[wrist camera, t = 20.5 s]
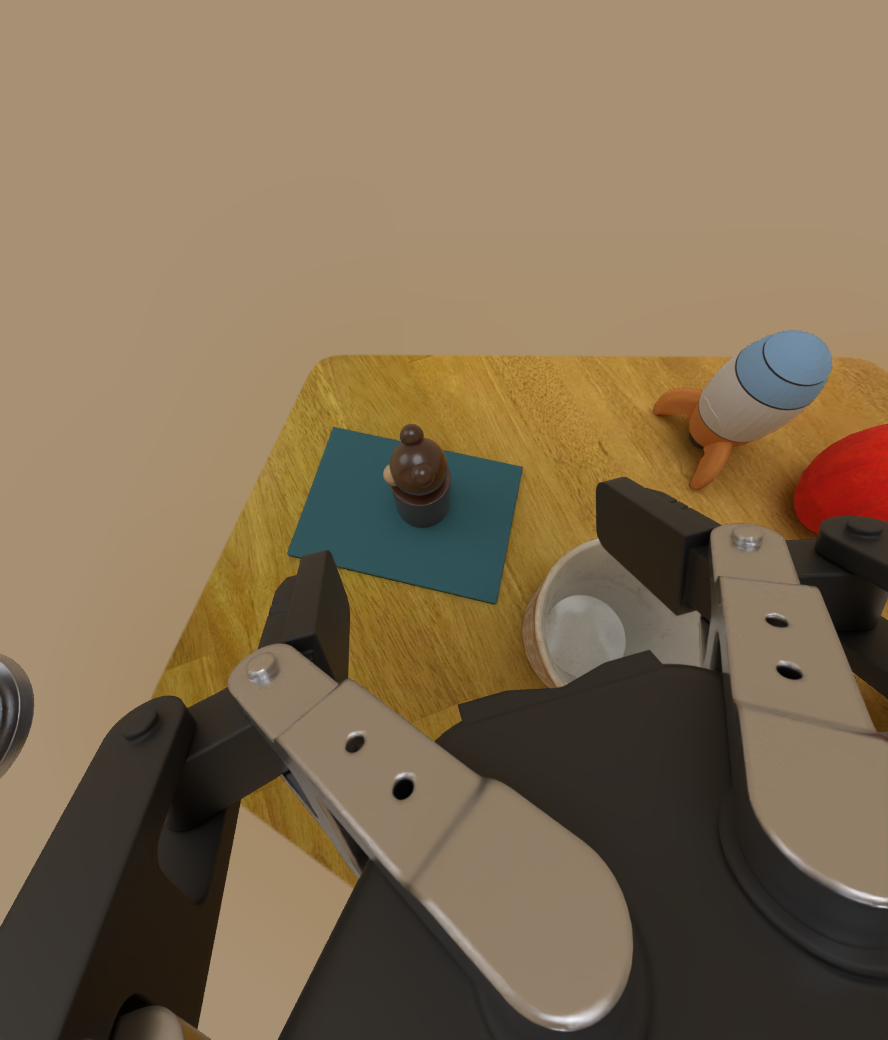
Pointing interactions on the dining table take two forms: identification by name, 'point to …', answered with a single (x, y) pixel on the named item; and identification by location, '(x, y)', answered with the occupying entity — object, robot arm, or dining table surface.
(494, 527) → the mat
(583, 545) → the planter
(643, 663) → the robot arm
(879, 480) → the apple
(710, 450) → the toy rocket
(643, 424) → the dining table surface
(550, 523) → the dining table surface
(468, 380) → the dining table surface
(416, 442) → the toy teddy
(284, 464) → the dining table surface
